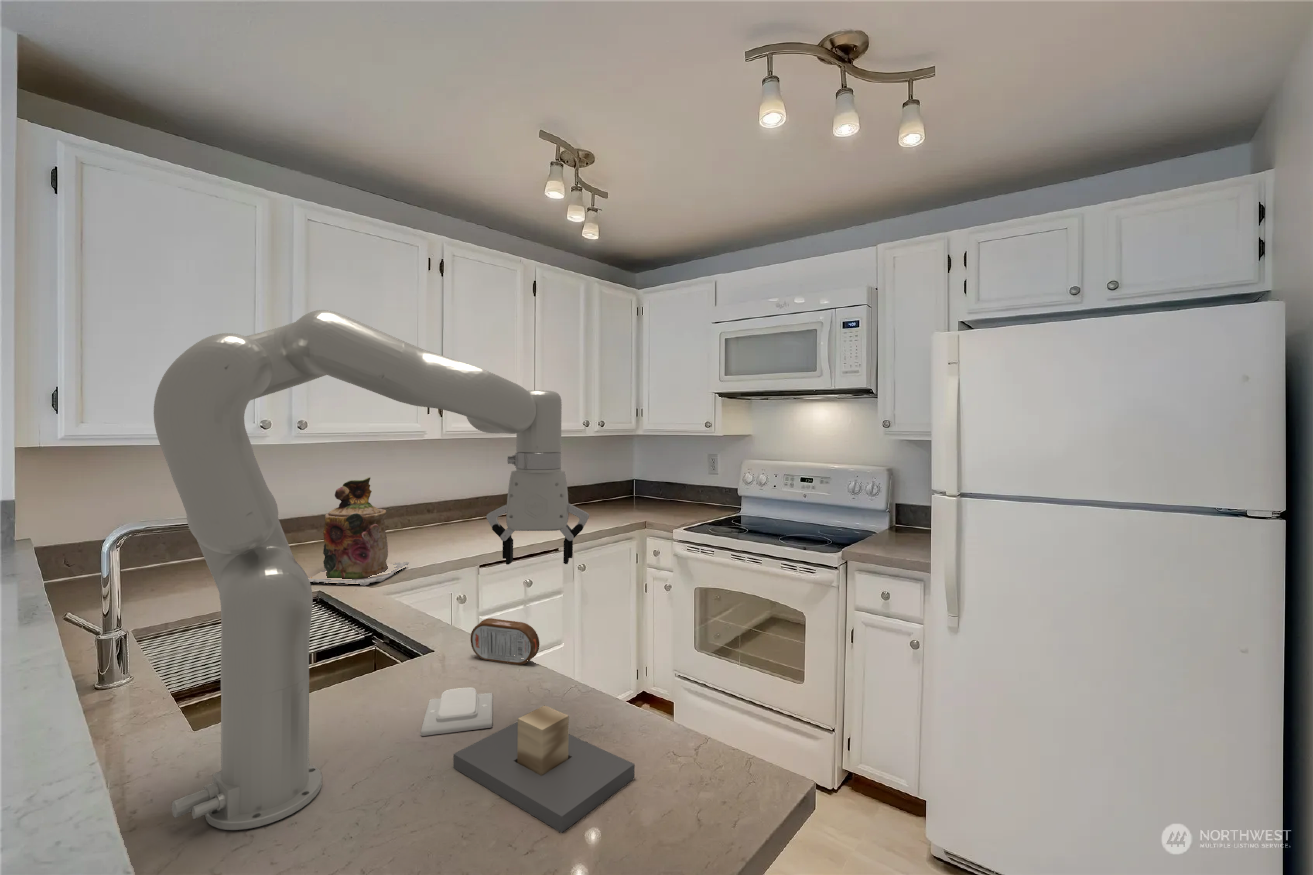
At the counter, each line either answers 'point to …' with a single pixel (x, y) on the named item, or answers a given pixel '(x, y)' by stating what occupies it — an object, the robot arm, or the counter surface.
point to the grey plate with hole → (546, 777)
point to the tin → (504, 641)
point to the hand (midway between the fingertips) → (537, 562)
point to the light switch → (458, 712)
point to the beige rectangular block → (542, 739)
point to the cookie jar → (355, 537)
